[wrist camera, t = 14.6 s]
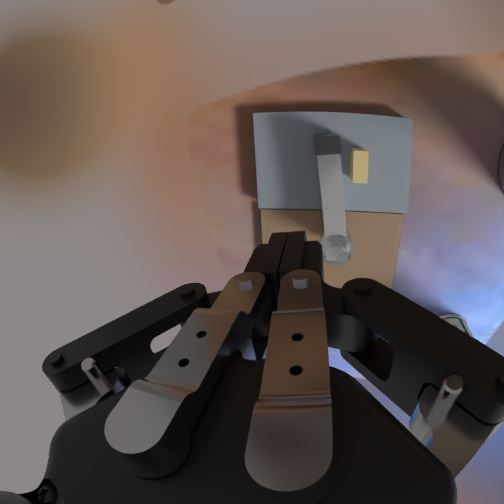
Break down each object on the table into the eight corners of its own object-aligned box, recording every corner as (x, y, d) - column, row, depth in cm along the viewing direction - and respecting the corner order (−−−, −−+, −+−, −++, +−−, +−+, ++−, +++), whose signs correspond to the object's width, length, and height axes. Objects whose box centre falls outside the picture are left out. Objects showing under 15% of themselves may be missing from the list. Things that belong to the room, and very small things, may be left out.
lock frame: (405, 118, 25) (421, 119, 20) (386, 298, 35) (393, 323, 30) (257, 113, 28) (247, 112, 24) (266, 294, 38) (259, 318, 33)
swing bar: (349, 246, 30) (353, 265, 26) (320, 248, 31) (320, 267, 27) (340, 132, 25) (345, 134, 21) (307, 134, 26) (306, 137, 22)
